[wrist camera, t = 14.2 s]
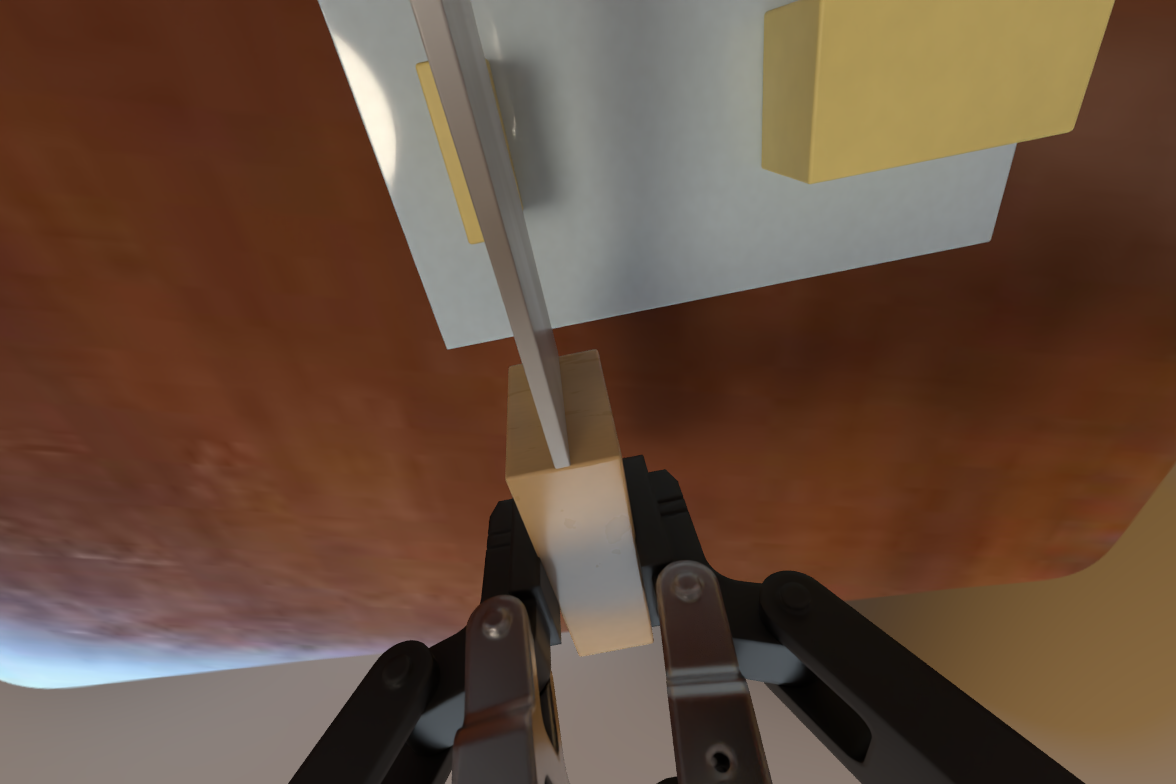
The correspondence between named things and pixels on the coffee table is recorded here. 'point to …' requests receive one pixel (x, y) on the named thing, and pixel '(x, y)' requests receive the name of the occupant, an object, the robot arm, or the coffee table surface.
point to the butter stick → (919, 79)
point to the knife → (542, 373)
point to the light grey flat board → (635, 162)
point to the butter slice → (450, 152)
